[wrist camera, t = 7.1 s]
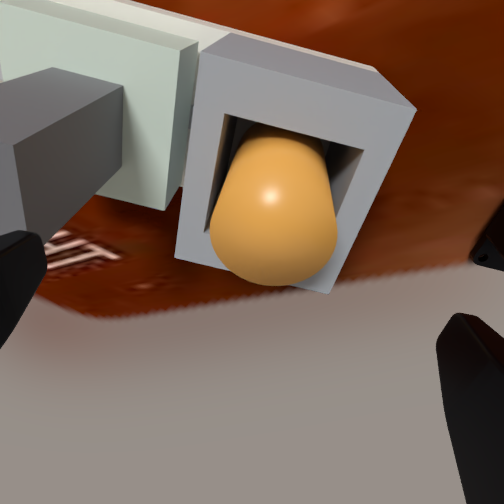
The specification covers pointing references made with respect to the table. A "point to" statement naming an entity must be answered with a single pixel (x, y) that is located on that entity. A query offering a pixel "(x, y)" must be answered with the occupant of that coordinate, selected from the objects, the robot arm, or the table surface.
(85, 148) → the carriage
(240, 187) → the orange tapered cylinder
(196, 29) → the rail
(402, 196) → the table surface
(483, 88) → the table surface
